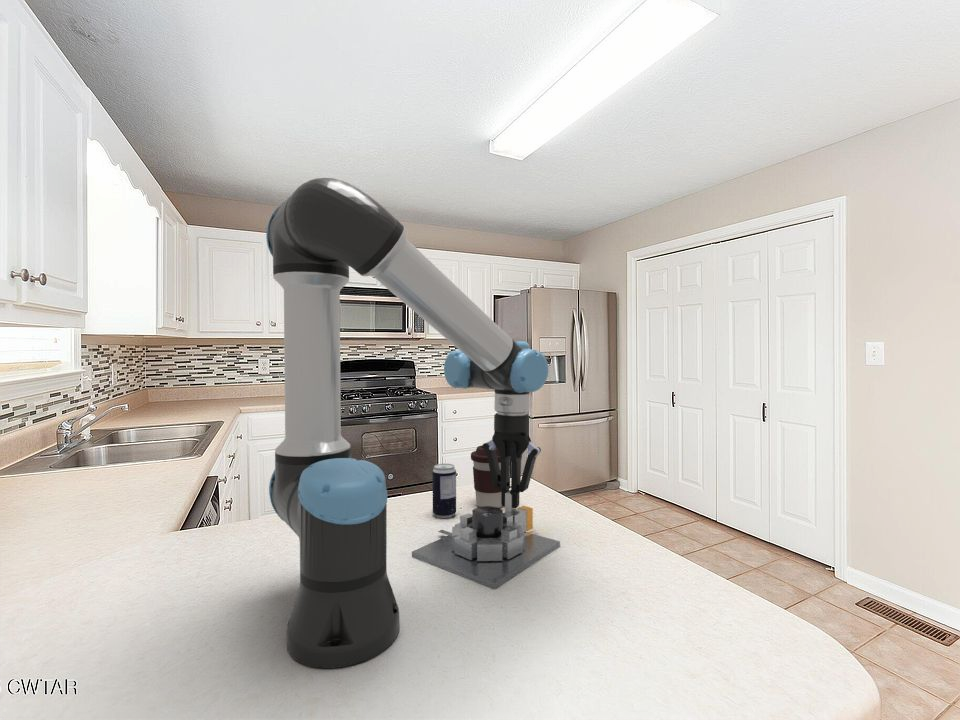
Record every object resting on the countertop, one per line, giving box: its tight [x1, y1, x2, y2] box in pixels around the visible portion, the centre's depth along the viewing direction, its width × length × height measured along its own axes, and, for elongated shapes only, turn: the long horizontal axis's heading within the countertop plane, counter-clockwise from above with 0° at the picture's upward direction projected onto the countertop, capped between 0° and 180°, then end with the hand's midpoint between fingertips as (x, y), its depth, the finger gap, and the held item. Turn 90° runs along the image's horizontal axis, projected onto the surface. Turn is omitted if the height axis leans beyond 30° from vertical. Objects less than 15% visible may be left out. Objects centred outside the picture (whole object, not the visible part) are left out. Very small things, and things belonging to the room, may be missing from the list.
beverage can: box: [432, 463, 457, 519], centre depth 114 cm, size 6×6×12 cm
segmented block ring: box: [451, 505, 534, 561], centre depth 96 cm, size 14×20×5 cm
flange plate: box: [411, 506, 561, 590], centre depth 95 cm, size 24×23×8 cm
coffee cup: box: [470, 444, 503, 509], centre depth 122 cm, size 10×10×15 cm
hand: (510, 521), depth 102 cm, fingers closed
